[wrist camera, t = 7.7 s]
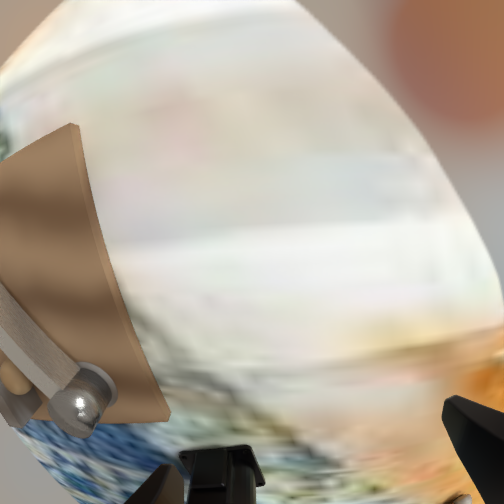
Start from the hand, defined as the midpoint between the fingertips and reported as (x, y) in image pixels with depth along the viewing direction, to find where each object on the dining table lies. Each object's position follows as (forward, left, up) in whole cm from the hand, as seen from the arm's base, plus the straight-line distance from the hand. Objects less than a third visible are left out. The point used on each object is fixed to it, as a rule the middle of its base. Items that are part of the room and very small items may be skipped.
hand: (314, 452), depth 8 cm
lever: (+3, +19, -10) cm, 22 cm away
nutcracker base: (+4, +18, -12) cm, 22 cm away
